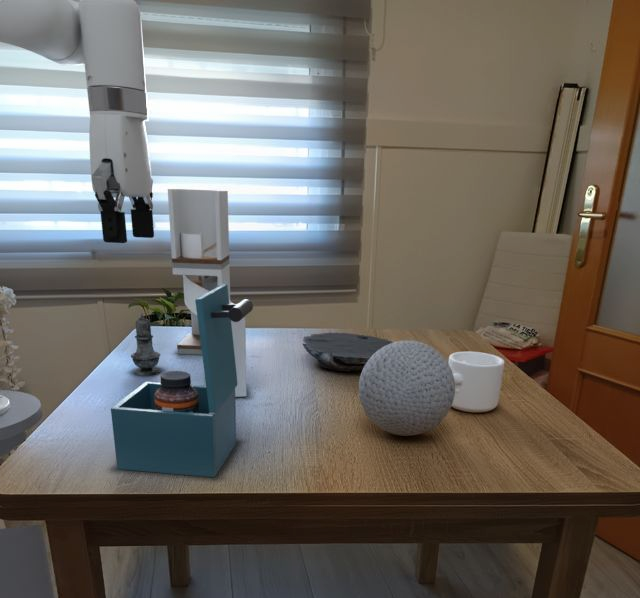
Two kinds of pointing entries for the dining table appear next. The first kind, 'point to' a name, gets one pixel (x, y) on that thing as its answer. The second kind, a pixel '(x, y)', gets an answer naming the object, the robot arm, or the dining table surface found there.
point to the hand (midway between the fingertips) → (130, 239)
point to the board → (343, 349)
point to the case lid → (219, 342)
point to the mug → (476, 380)
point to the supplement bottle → (176, 393)
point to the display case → (199, 249)
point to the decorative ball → (406, 388)
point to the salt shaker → (145, 349)
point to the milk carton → (239, 355)
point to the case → (172, 434)
